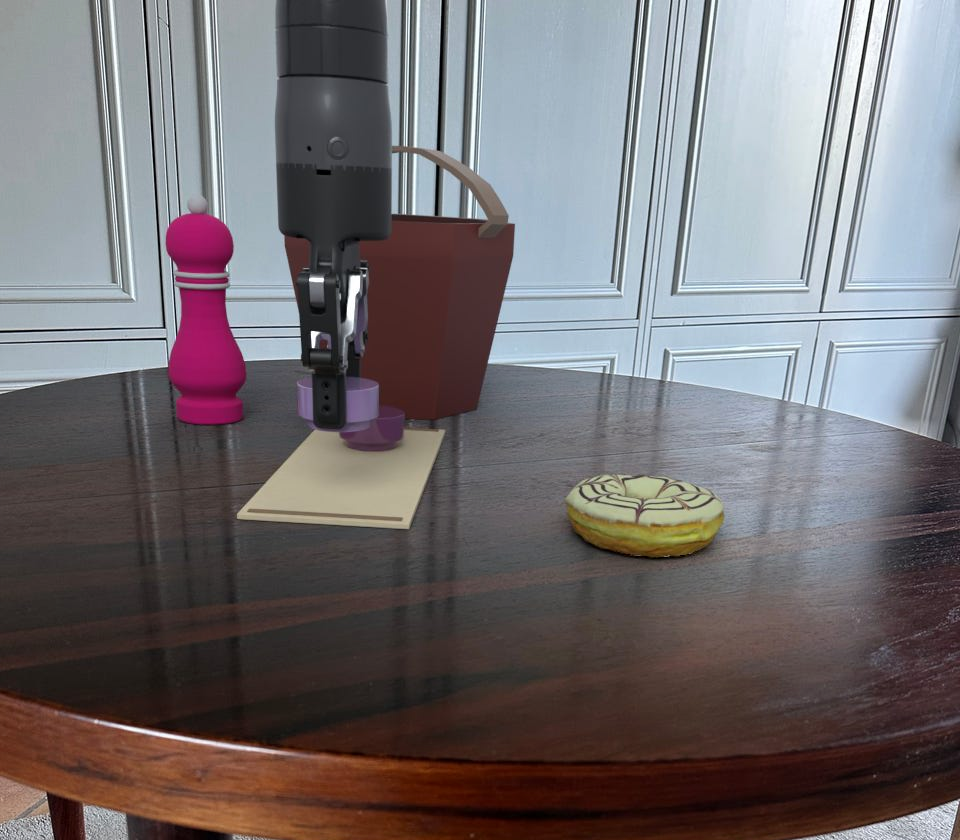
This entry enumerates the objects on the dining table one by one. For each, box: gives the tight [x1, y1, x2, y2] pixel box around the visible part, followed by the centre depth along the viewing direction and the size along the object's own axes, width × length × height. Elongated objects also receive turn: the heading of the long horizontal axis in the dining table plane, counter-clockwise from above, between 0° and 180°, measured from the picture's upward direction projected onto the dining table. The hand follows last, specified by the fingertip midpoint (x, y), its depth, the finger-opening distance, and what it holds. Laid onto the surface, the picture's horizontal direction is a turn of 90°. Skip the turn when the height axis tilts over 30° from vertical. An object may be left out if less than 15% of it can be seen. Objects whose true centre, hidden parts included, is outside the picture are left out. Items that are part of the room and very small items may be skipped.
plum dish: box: [339, 405, 406, 452], centre depth 90 cm, size 6×6×3 cm
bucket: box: [283, 145, 516, 421], centre depth 106 cm, size 24×22×25 cm
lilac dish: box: [296, 376, 379, 432], centre depth 73 cm, size 6×6×3 cm
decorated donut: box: [564, 474, 725, 558], centre depth 70 cm, size 10×11×4 cm
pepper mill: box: [165, 193, 248, 426], centre depth 95 cm, size 7×7×20 cm
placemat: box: [236, 427, 446, 530], centre depth 84 cm, size 12×30×1 cm, turn 177°
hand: (338, 417), depth 74 cm, fingers closed on lilac dish, 5 cm apart
